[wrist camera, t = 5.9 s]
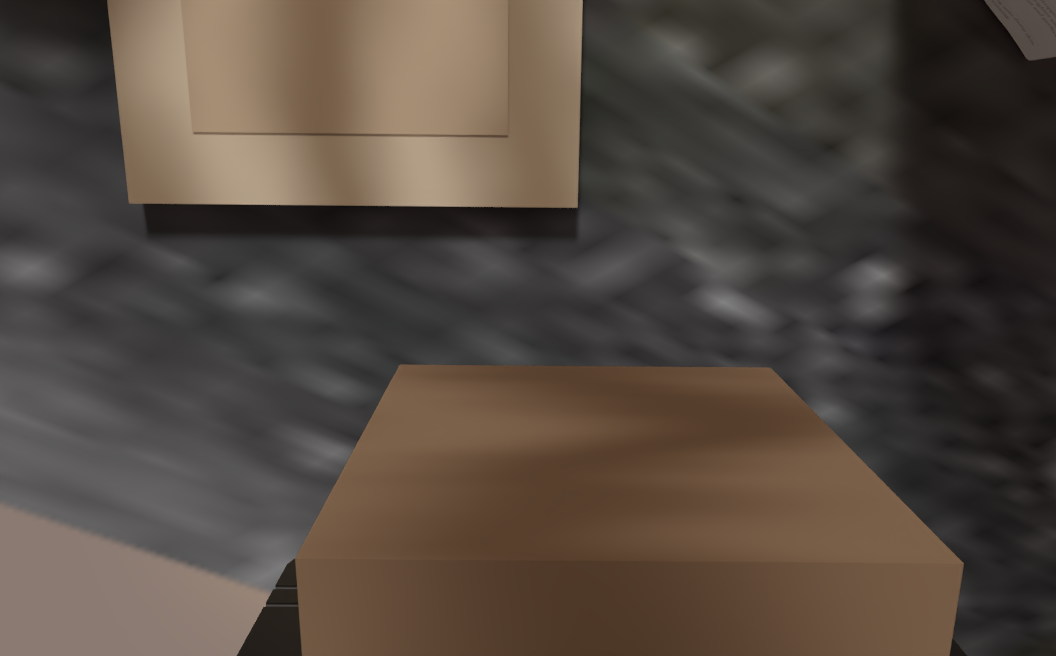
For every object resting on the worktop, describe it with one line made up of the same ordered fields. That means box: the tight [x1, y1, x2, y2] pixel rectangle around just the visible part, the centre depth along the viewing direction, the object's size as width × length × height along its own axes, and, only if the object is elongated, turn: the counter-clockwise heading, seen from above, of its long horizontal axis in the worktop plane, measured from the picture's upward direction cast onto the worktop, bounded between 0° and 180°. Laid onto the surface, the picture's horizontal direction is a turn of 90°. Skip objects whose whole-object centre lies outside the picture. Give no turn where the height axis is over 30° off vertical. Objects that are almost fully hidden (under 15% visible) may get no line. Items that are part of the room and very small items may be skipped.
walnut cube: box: [295, 365, 964, 656], centre depth 11 cm, size 6×6×6 cm
